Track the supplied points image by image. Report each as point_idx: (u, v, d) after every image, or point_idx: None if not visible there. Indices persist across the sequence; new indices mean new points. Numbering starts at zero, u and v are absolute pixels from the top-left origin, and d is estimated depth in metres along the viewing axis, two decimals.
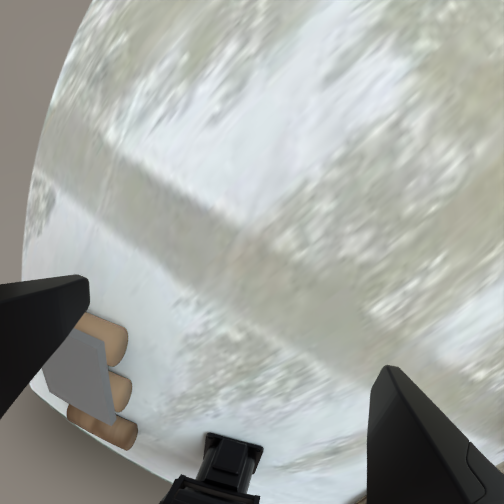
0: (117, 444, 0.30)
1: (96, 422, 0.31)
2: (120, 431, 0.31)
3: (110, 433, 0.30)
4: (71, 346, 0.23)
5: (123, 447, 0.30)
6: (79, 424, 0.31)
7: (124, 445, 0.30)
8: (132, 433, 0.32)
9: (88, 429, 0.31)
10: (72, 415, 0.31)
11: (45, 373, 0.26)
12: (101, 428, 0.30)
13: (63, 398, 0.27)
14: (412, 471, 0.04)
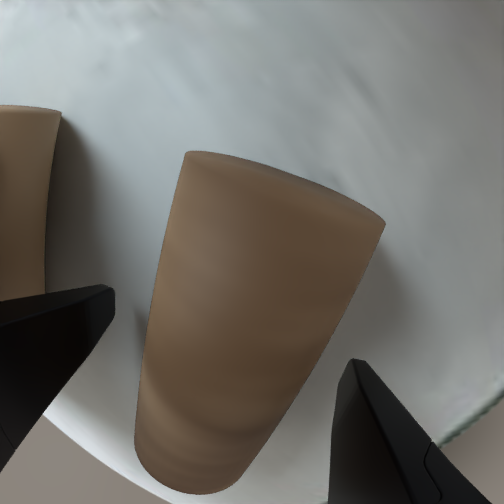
0: (265, 267, 0.04)
1: (147, 358, 0.06)
2: (173, 203, 0.05)
3: (176, 291, 0.05)
4: None
5: (291, 212, 0.04)
6: (186, 464, 0.06)
7: None
8: (269, 173, 0.06)
9: (197, 437, 0.06)
10: (153, 463, 0.07)
11: None
12: (162, 348, 0.06)
13: None
14: (367, 469, 0.04)
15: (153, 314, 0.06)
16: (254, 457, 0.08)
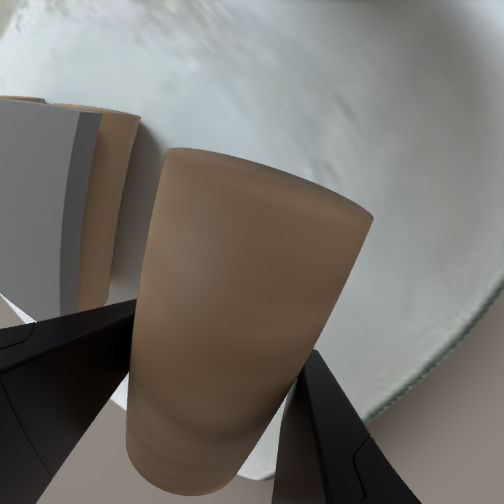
0: (227, 258, 0.04)
1: (132, 349, 0.06)
2: None
3: (150, 281, 0.05)
4: None
5: (251, 200, 0.04)
6: (167, 461, 0.06)
7: None
8: (256, 169, 0.06)
9: (173, 434, 0.06)
10: (138, 458, 0.07)
11: (14, 297, 0.11)
12: (141, 339, 0.06)
13: (52, 287, 0.10)
14: (299, 460, 0.05)
15: (136, 306, 0.06)
16: (240, 463, 0.07)
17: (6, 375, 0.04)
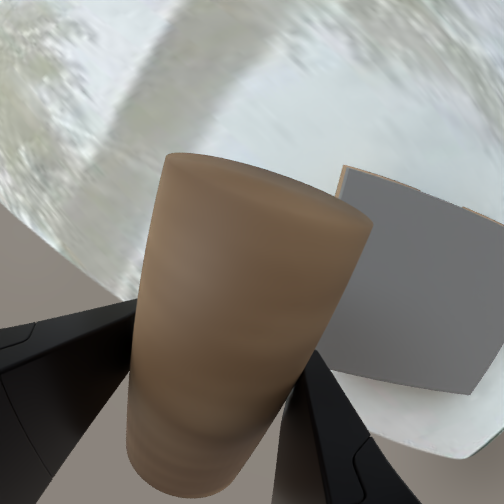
0: (227, 266, 0.04)
1: (132, 354, 0.06)
2: (155, 202, 0.05)
3: (150, 288, 0.05)
4: None
5: (250, 209, 0.04)
6: (167, 465, 0.06)
7: None
8: (256, 174, 0.06)
9: (173, 438, 0.06)
10: (138, 460, 0.07)
11: (430, 383, 0.13)
12: (141, 344, 0.06)
13: (487, 361, 0.12)
14: (299, 459, 0.05)
15: (136, 311, 0.06)
16: (240, 466, 0.07)
17: (6, 375, 0.04)
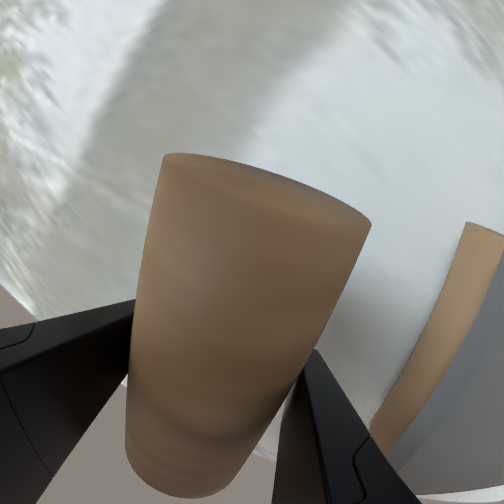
0: (224, 266, 0.04)
1: (130, 354, 0.06)
2: (153, 203, 0.05)
3: (148, 288, 0.05)
4: (502, 380, 0.06)
5: (247, 209, 0.04)
6: (165, 465, 0.06)
7: None
8: (254, 175, 0.06)
9: (172, 438, 0.06)
10: (137, 460, 0.07)
11: None
12: (138, 344, 0.06)
13: None
14: (299, 459, 0.05)
15: (134, 311, 0.06)
16: (238, 466, 0.07)
17: (6, 375, 0.04)
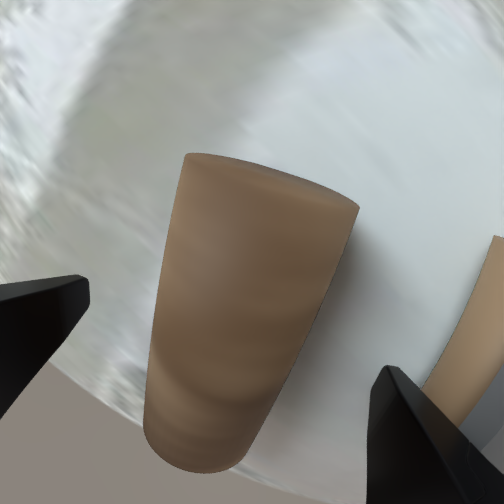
0: (241, 240, 0.05)
1: (153, 330, 0.07)
2: None
3: (174, 265, 0.06)
4: None
5: (258, 194, 0.05)
6: (184, 436, 0.07)
7: None
8: (260, 170, 0.07)
9: (192, 406, 0.07)
10: (156, 437, 0.08)
11: None
12: (164, 318, 0.07)
13: None
14: (412, 471, 0.04)
15: (159, 290, 0.07)
16: (251, 438, 0.08)
17: None
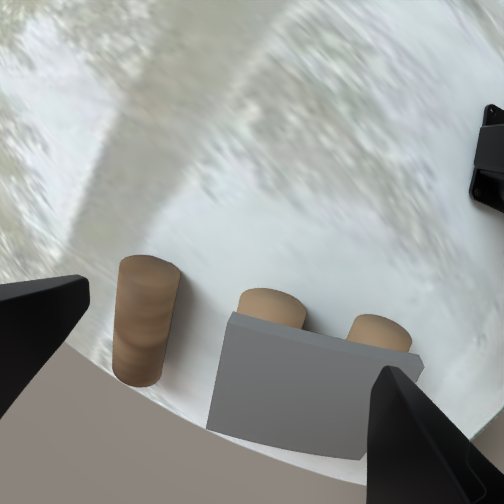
0: (133, 295, 0.18)
1: (114, 321, 0.20)
2: (118, 276, 0.19)
3: (118, 300, 0.19)
4: (238, 374, 0.16)
5: (136, 283, 0.17)
6: (126, 364, 0.20)
7: (132, 278, 0.18)
8: (147, 265, 0.20)
9: (127, 349, 0.19)
10: (116, 367, 0.20)
11: (318, 451, 0.17)
12: (116, 316, 0.19)
13: None
14: (412, 471, 0.04)
15: (115, 306, 0.19)
16: (154, 369, 0.21)
17: None
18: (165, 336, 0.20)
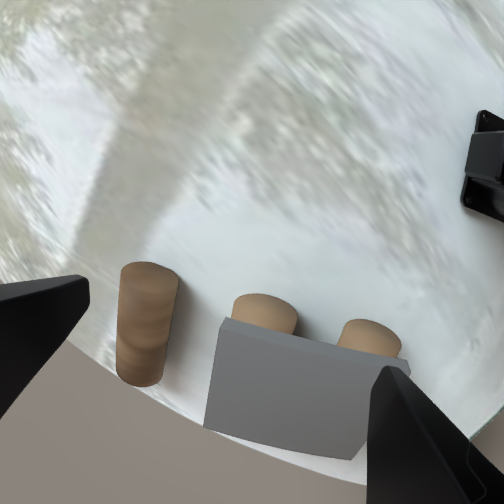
0: (134, 300, 0.19)
1: (117, 324, 0.21)
2: None
3: (120, 305, 0.20)
4: (231, 375, 0.17)
5: (136, 290, 0.18)
6: (128, 365, 0.21)
7: (133, 285, 0.19)
8: (147, 271, 0.21)
9: (129, 351, 0.20)
10: (119, 368, 0.21)
11: (310, 451, 0.18)
12: (119, 320, 0.20)
13: (359, 441, 0.17)
14: (412, 471, 0.04)
15: None
16: (155, 369, 0.22)
17: None
18: (165, 338, 0.21)
